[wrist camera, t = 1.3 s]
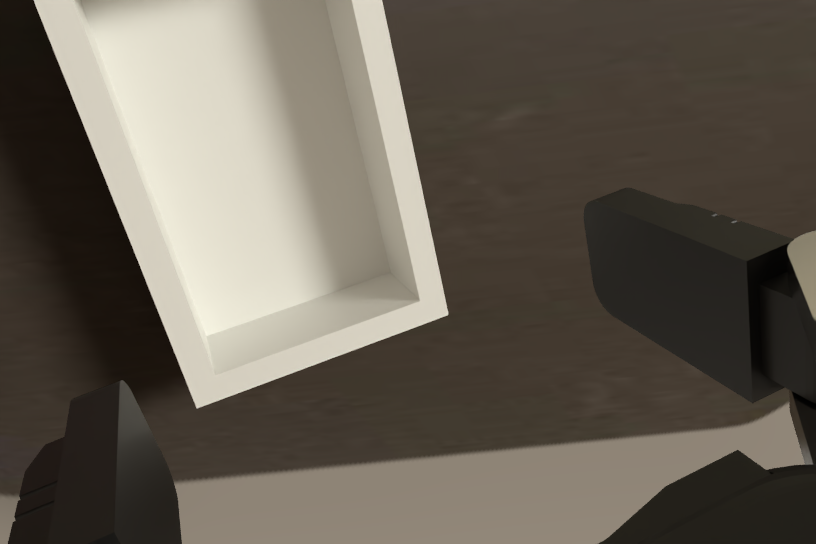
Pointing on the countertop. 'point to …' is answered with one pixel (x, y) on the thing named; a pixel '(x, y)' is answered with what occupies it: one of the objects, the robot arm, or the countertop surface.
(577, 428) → the countertop surface
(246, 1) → the tote
